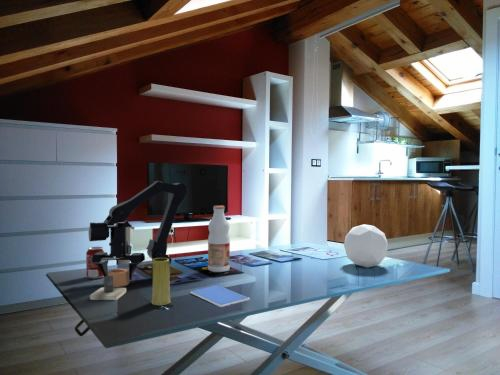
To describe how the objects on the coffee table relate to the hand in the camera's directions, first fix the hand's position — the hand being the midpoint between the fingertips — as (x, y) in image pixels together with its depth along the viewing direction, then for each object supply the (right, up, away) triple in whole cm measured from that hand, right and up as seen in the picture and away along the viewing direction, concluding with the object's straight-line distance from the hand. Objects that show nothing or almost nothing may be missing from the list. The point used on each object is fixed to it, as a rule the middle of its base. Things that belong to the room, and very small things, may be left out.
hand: (118, 280), depth 151 cm
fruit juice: (+36, -1, +23) cm, 43 cm away
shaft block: (+1, -2, -14) cm, 14 cm away
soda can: (-13, -1, +10) cm, 16 cm away
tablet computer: (+39, -3, -14) cm, 42 cm away
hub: (0, -2, 0) cm, 2 cm away
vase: (+21, -3, -21) cm, 30 cm away
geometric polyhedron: (+103, -1, +32) cm, 108 cm away
